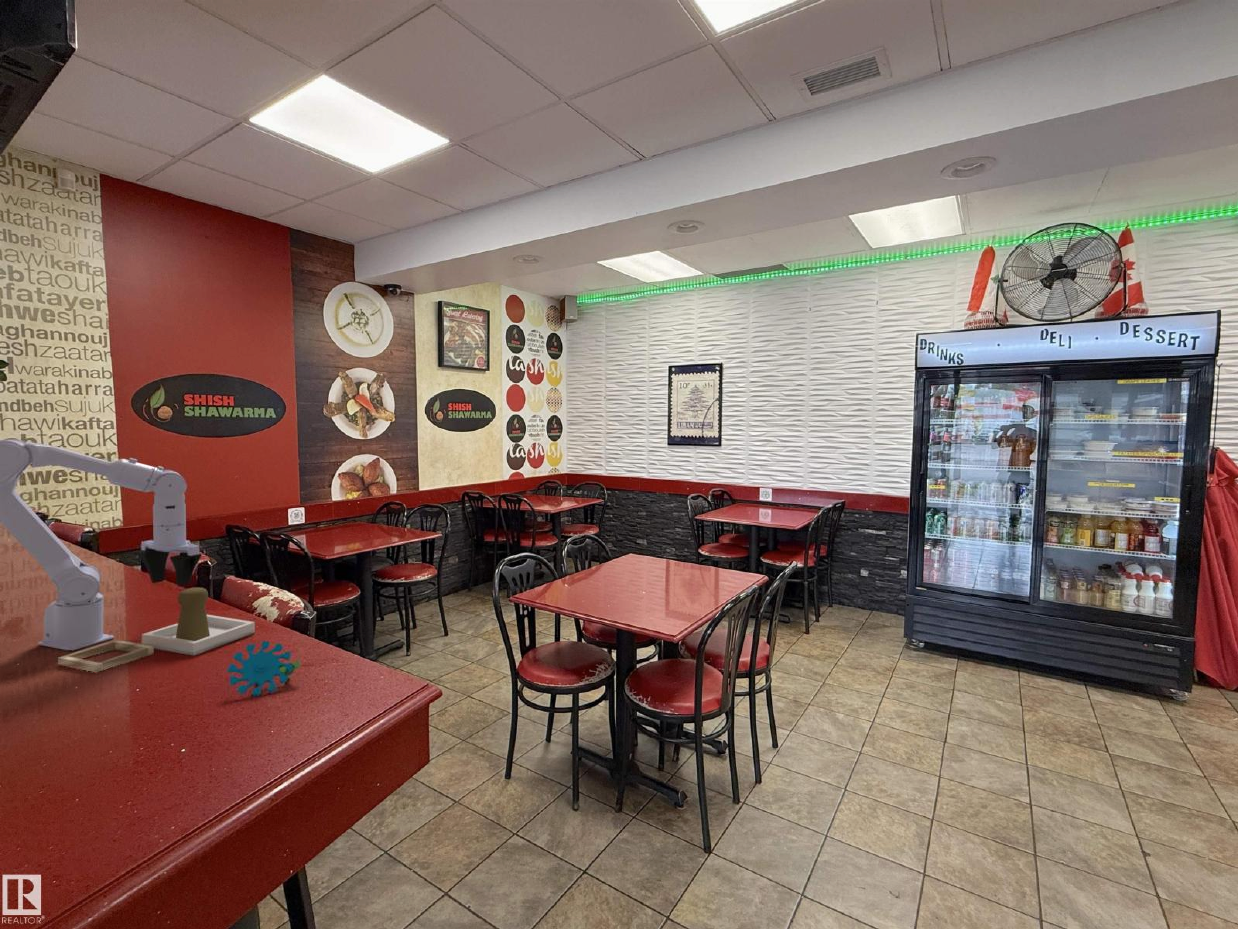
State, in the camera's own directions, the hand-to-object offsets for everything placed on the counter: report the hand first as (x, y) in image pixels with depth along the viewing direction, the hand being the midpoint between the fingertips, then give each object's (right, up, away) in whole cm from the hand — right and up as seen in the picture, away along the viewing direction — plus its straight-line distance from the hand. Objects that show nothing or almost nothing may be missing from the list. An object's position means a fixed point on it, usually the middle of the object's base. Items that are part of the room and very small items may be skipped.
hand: (170, 583), depth 126 cm
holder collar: (+1, -11, -17) cm, 20 cm away
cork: (+10, -11, -6) cm, 16 cm away
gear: (+37, -14, -25) cm, 47 cm away
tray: (+10, -11, -5) cm, 16 cm away
